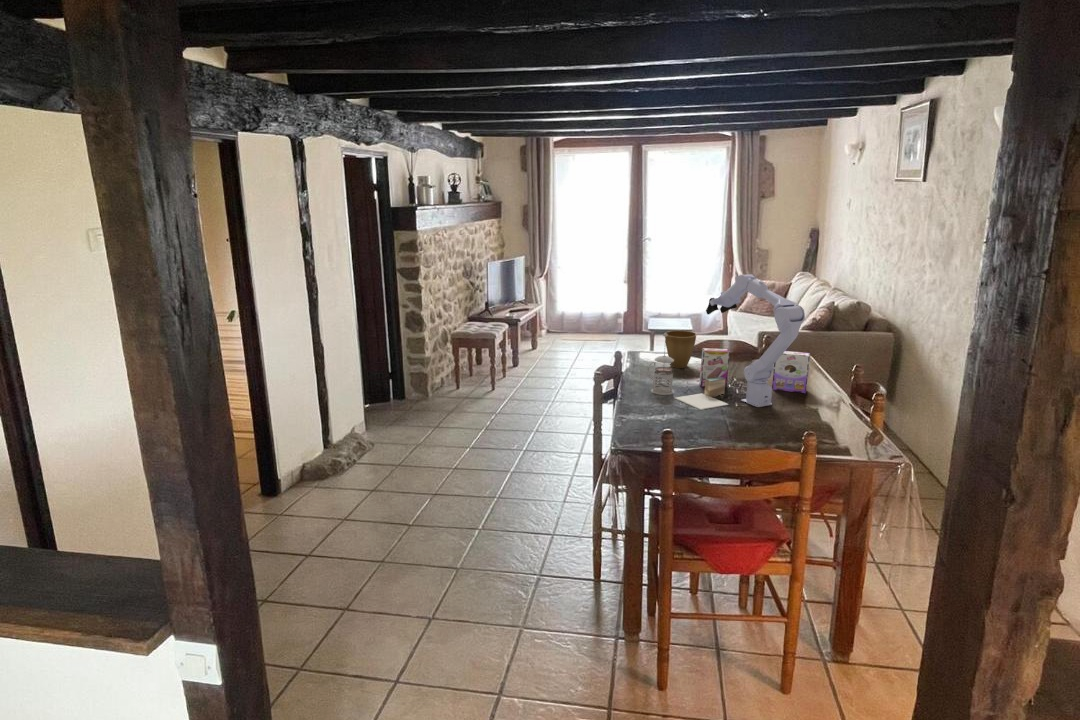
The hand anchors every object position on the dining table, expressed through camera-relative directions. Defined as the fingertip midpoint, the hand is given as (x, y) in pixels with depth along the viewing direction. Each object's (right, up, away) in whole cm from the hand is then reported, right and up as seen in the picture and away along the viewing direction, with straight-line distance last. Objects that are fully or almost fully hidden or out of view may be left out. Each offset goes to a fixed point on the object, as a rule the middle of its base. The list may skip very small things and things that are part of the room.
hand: (714, 311), depth 285 cm
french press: (-23, -34, -2) cm, 41 cm away
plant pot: (-7, -24, +39) cm, 46 cm away
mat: (-9, -37, -16) cm, 41 cm away
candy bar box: (+1, -32, +6) cm, 33 cm away
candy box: (+32, -33, +2) cm, 47 cm away
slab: (-2, -35, -6) cm, 36 cm away
